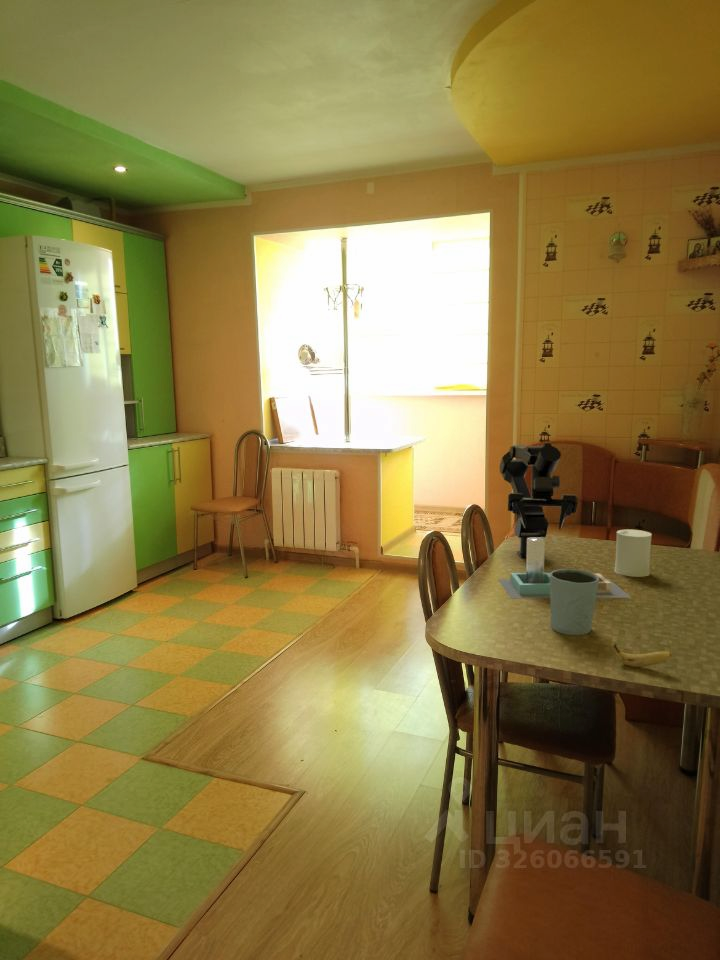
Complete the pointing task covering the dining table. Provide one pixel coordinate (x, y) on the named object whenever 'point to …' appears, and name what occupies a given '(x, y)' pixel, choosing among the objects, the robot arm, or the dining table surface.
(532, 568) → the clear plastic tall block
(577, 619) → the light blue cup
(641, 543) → the can
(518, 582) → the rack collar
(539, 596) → the mat
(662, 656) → the banana
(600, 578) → the socket block
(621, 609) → the dining table surface
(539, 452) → the robot arm
